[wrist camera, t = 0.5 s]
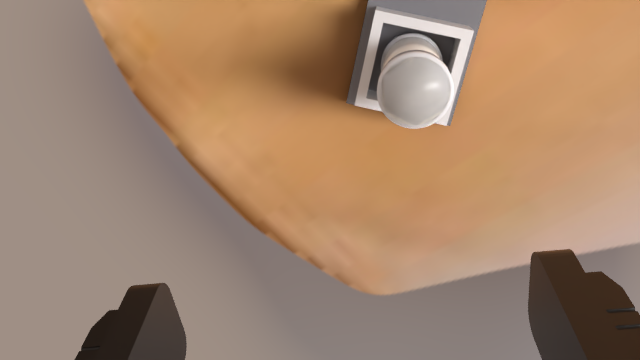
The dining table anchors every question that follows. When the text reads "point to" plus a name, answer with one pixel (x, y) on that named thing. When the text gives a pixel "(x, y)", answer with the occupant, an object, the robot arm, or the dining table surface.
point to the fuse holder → (415, 16)
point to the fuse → (414, 81)
